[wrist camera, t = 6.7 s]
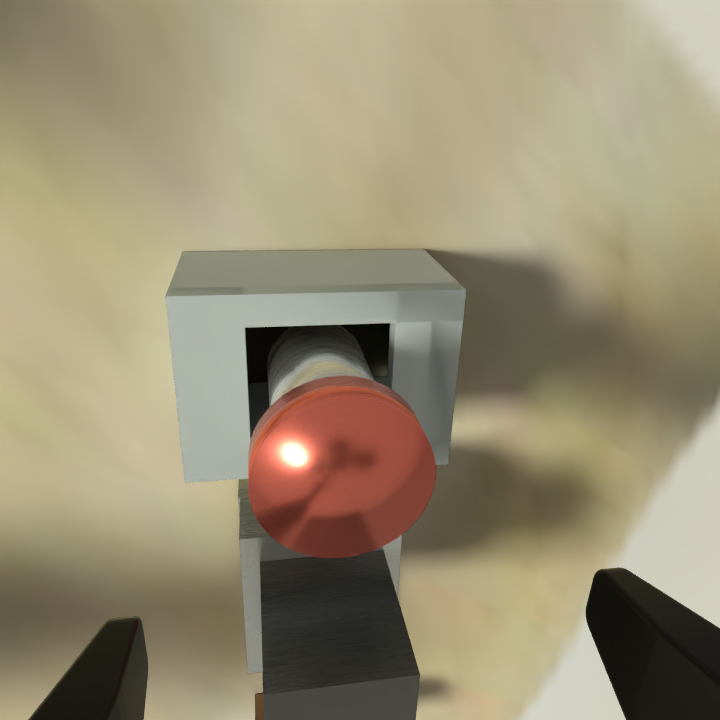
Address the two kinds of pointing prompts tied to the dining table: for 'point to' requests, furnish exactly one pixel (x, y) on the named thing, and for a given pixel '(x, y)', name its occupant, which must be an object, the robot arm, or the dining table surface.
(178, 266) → the button housing
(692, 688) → the robot arm
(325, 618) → the carriage
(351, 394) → the red plunger button
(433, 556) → the dining table surface
